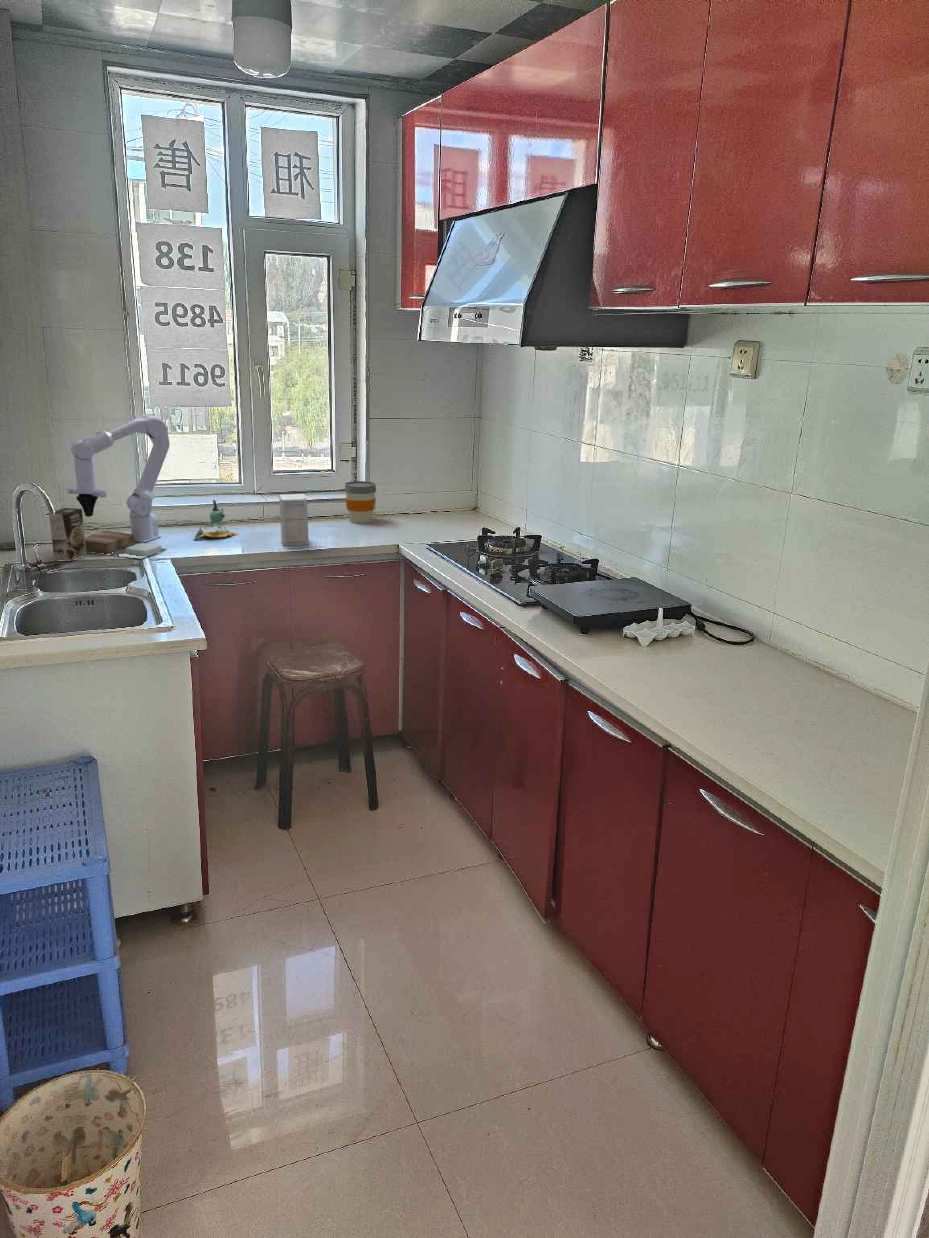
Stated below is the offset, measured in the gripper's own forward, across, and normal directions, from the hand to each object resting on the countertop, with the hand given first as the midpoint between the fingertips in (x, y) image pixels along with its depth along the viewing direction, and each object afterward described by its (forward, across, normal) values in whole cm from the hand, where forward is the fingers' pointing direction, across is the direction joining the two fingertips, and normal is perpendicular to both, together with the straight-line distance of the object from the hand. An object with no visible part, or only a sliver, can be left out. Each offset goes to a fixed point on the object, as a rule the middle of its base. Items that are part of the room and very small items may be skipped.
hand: (89, 516), depth 306 cm
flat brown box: (+10, +7, -1) cm, 13 cm away
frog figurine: (+11, +30, +29) cm, 43 cm away
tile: (+8, +22, -1) cm, 24 cm away
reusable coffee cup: (+11, +67, +76) cm, 102 cm away
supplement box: (+11, +60, +35) cm, 70 cm away
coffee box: (+11, +5, -16) cm, 20 cm away
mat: (+10, +20, -1) cm, 22 cm away
